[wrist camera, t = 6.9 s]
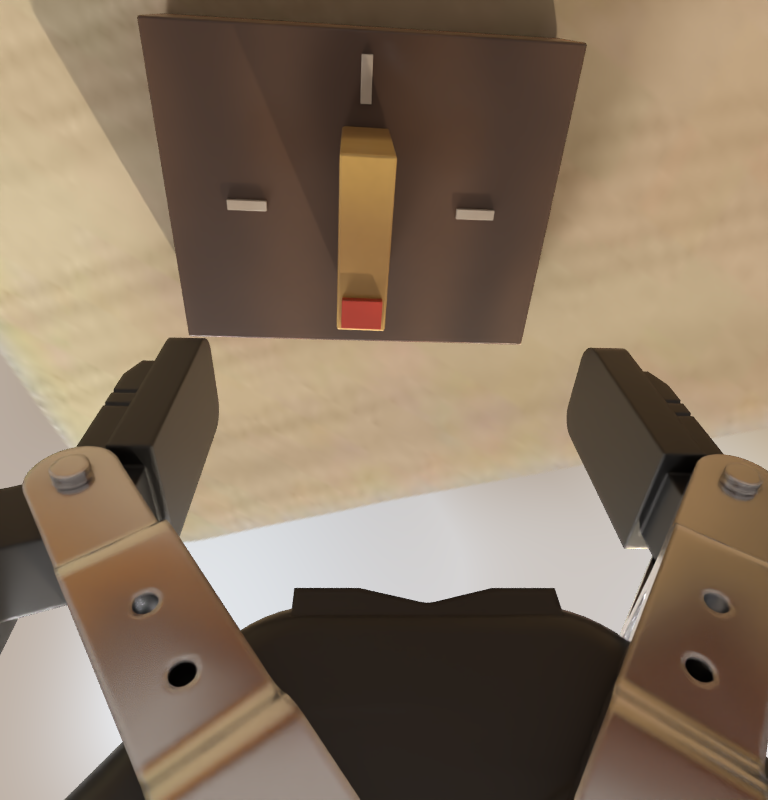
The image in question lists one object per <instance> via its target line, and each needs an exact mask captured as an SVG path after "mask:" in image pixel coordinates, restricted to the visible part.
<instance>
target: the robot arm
mask: <svg viewBox="0 0 768 800" xmlns="http://www.w3.org/2000/svg"><path fill="white" fill-rule="evenodd" d="M690 414H691V413H690V412H689V411H688V409H687V408H686V407H685V406H684V404H680V399H679V398H678V397H677V396H676V394H675V393H674V392H673V391H672V389H671V388H670V387H669V386H668V385H667V384H666V383H664V382H663V381H661V380H660V379H658V378H657V377H655V376H654V375H652V374H651V373H649V372H643V371H642V369H641V368H640V367H639V366H638V364H637V363H636V362H635V360H634V359H633V358H632V356H631V355H630V354H629V353H628V351H627V350H625V349H619V348H588V349H587V350H586V351H585V352H584V354H583V356H582V359H581V362H580V366H579V369H578V373H577V377H576V380H575V384H574V387H573V391H572V394H571V398H570V401H569V405H568V409H567V428H568V432H569V435H570V437H571V439H572V441H573V444H574V446H575V448H576V450H577V452H578V454H579V456H580V458H581V460H582V462H583V464H584V466H585V468H586V471H587V472H588V475H589V477H590V479H591V481H592V483H593V485H594V487H595V489H596V491H597V493H598V496H599V498H600V500H601V502H602V503H603V506H604V508H605V510H606V512H607V514H608V516H609V518H610V520H611V523H612V525H613V527H614V529H615V531H616V533H617V535H618V537H619V539H620V541H621V543H622V545H623V547H624V548H625V549H649V550H650V552H651V554H652V558H651V560H650V562H649V564H648V566H647V568H646V571H645V573H644V576H643V578H642V581H641V583H640V586H639V588H638V591H637V593H636V596H635V598H634V601H633V603H632V605H631V608H630V611H629V613H628V616H627V618H626V620H625V623H624V625H623V628H622V630H621V633H620V635H618V634H617V633H615V632H614V631H612V630H610V629H608V628H607V627H605V626H603V625H601V624H599V623H597V622H595V621H593V620H591V619H589V618H586V617H584V616H581V615H578V614H575V613H572V612H569V611H566V610H562V609H561V606H560V603H559V600H558V597H557V594H556V591H555V589H554V588H490V589H486V590H482V591H478V592H474V593H470V594H466V595H461V596H457V597H453V598H449V599H445V600H441V601H436V602H431V603H424V602H418V601H414V600H409V599H405V598H401V597H396V596H392V595H388V594H383V593H378V592H374V591H370V590H366V589H361V588H294V596H293V604H292V609H289V610H285V611H281V612H278V613H275V614H273V615H270V616H267V617H265V618H262V619H260V620H258V621H256V622H254V623H252V624H250V625H249V626H247V627H245V628H244V629H242V630H240V629H239V628H238V626H237V625H236V623H235V622H234V620H233V619H232V617H231V615H230V614H229V613H228V611H227V609H226V608H225V606H224V605H223V603H222V602H221V600H220V599H219V597H218V596H217V594H216V593H215V591H214V589H213V588H212V586H211V585H210V583H209V582H208V580H207V579H206V577H205V576H204V574H203V573H202V571H201V570H200V568H199V566H198V565H197V564H196V562H195V560H194V559H193V557H192V556H191V554H190V553H189V551H188V550H187V548H186V547H185V545H184V544H183V542H182V540H181V539H180V537H179V536H180V533H181V531H182V528H183V525H184V522H185V519H186V516H187V513H188V510H189V507H190V504H191V502H192V499H193V496H194V493H195V490H196V487H197V484H198V481H199V478H200V475H201V473H202V470H203V467H204V464H205V461H206V458H207V455H208V452H209V449H210V446H211V444H212V441H213V438H214V435H215V432H216V429H217V425H218V417H219V402H218V395H217V388H216V382H215V375H214V368H213V362H212V355H211V349H210V345H209V342H208V340H207V339H205V338H168V339H167V341H166V342H165V344H164V346H163V348H162V349H161V351H160V353H159V354H158V356H157V358H156V359H155V361H144V360H143V361H141V362H140V363H139V364H137V365H136V366H134V367H133V368H131V369H130V370H128V371H127V372H126V373H124V374H123V376H122V377H121V379H120V380H119V382H118V383H117V385H116V386H115V388H114V393H111V394H110V396H109V397H108V399H107V400H106V402H105V406H103V407H102V408H101V410H100V411H99V413H98V414H97V416H96V417H95V419H94V420H93V422H92V424H91V425H90V427H89V428H88V430H87V431H86V433H85V434H84V436H83V437H82V439H81V440H80V442H79V444H78V445H77V447H75V448H70V449H66V450H63V451H60V452H57V453H55V454H52V455H51V456H48V457H47V458H45V459H43V460H42V461H40V462H39V463H37V464H36V465H35V466H34V467H33V468H32V469H31V470H30V471H29V472H28V473H27V475H26V477H25V479H24V481H23V484H22V485H18V486H14V487H9V488H4V489H0V654H1V652H2V650H3V648H4V646H5V644H6V642H7V640H8V638H9V636H10V634H11V632H12V630H13V628H14V626H15V624H16V622H17V619H18V618H21V617H24V616H28V615H32V614H35V613H39V612H43V611H46V610H50V609H54V608H58V607H61V606H65V605H68V607H69V610H70V612H71V615H72V617H73V620H74V622H75V624H76V627H77V630H78V632H79V635H80V637H81V640H82V642H83V644H84V647H85V649H86V652H87V654H88V657H89V659H90V662H91V664H92V667H93V669H94V672H95V674H96V677H97V679H98V682H99V684H100V687H101V689H102V691H103V694H104V696H105V699H106V701H107V704H108V706H109V709H110V711H111V714H112V716H113V719H114V721H115V723H116V726H117V728H118V731H119V733H120V736H121V738H122V741H123V742H122V743H121V744H120V745H119V746H118V747H117V748H116V749H115V750H114V751H113V752H112V753H111V754H110V755H109V756H108V757H107V758H106V759H105V760H104V761H103V762H102V763H101V764H100V765H99V766H98V767H97V768H96V769H95V770H94V771H93V772H92V773H91V774H90V775H89V776H88V777H87V778H86V779H85V780H84V781H83V782H82V783H81V784H80V785H79V786H78V787H77V788H76V789H75V790H74V791H73V792H72V793H71V794H70V795H69V796H68V797H67V798H66V799H65V800H768V758H767V757H766V752H767V744H768V471H767V470H765V469H764V468H762V467H761V466H759V465H757V464H755V463H753V462H750V461H748V460H745V459H742V458H739V457H735V456H731V455H724V454H723V453H722V452H721V450H720V449H719V448H718V447H717V445H716V444H715V443H714V442H713V440H712V439H711V438H710V437H709V435H708V434H707V433H706V432H705V430H704V429H703V428H702V427H701V425H700V424H699V423H698V422H697V420H696V419H695V418H694V417H693V416H690Z"/></svg>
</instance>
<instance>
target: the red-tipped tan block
mask: <svg viewBox="0 0 768 800" xmlns="http://www.w3.org/2000/svg"><path fill="white" fill-rule="evenodd" d="M396 167H397V157H396V153H395V150H394V146H393V142H392V139H391V135H390V132H389V130H388V129H382V128H366V127H350V126H344V127H343V128H342V135H341V146H340V163H339V220H338V278H337V329H344V330H372V331H383V330H384V329H385V319H386V305H387V291H388V277H389V263H390V250H391V236H392V222H393V208H394V194H395V180H396Z"/></svg>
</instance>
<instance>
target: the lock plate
mask: <svg viewBox="0 0 768 800" xmlns="http://www.w3.org/2000/svg"><path fill="white" fill-rule="evenodd" d="M137 19H138V25H139V31H140V37H141V44H142V50H143V56H144V62H145V68H146V74H147V80H148V86H149V92H150V99H151V105H152V111H153V117H154V123H155V129H156V135H157V141H158V147H159V154H160V160H161V166H162V172H163V178H164V184H165V190H166V196H167V203H168V209H169V215H170V221H171V227H172V233H173V239H174V245H175V251H176V258H177V264H178V270H179V276H180V282H181V288H182V294H183V300H184V306H185V313H186V319H187V325H188V331H189V335H190V336H208V337H247V338H286V339H326V340H365V341H404V342H444V343H483V344H521V341H522V337H523V332H524V328H525V323H526V319H527V314H528V310H529V305H530V300H531V296H532V291H533V287H534V282H535V278H536V273H537V269H538V264H539V260H540V255H541V251H542V246H543V241H544V237H545V232H546V228H547V223H548V219H549V214H550V210H551V205H552V201H553V196H554V192H555V187H556V182H557V178H558V173H559V169H560V164H561V160H562V155H563V151H564V146H565V142H566V137H567V133H568V128H569V124H570V119H571V114H572V110H573V105H574V101H575V96H576V92H577V87H578V83H579V78H580V74H581V69H582V65H583V60H584V55H585V51H586V46H587V45H586V43H583V42H577V41H571V40H565V39H560V38H546V37H530V36H514V35H498V34H482V33H467V32H451V31H435V30H419V29H403V28H387V27H371V26H355V25H339V24H323V23H307V22H292V21H276V20H260V19H244V18H228V17H212V16H196V15H180V14H149V15H139V16H138V17H137ZM344 126H350V127H366V128H382V129H388V130H389V132H390V135H391V139H392V142H393V146H394V150H395V153H396V157H397V167H396V180H395V194H394V208H393V222H392V236H391V250H390V263H389V277H388V291H387V305H386V319H385V329H384V330H383V331H372V330H344V329H337V278H338V220H339V163H340V146H341V135H342V128H343V127H344Z"/></svg>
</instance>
